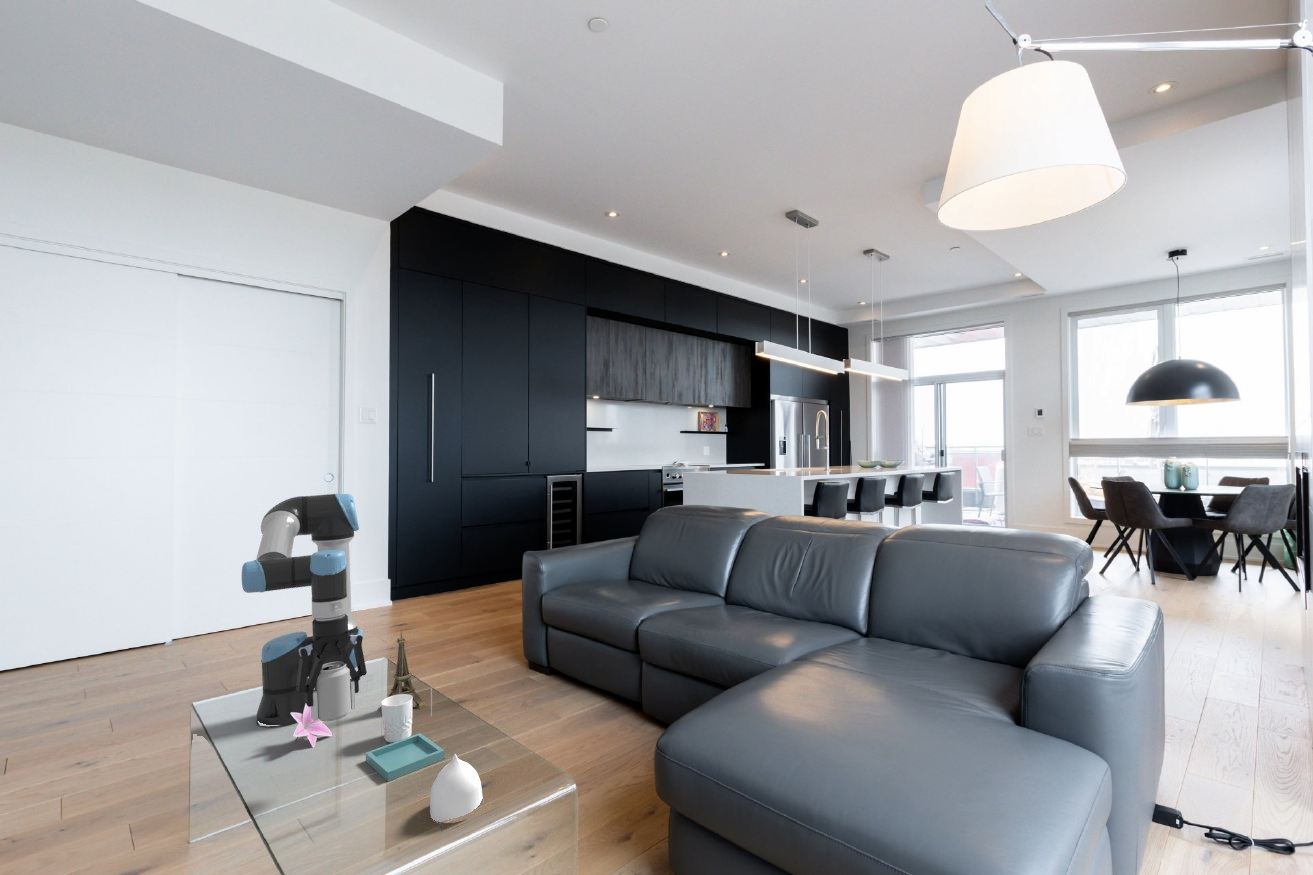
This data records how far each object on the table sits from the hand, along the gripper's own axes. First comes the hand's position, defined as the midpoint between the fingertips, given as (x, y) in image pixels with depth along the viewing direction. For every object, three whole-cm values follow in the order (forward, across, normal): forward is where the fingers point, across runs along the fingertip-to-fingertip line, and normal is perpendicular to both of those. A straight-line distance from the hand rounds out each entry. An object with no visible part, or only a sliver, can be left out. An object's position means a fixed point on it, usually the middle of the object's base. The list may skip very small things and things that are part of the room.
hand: (333, 713), depth 148 cm
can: (+1, 0, 0) cm, 1 cm away
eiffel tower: (+16, +28, +29) cm, 44 cm away
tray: (+16, +15, -3) cm, 22 cm away
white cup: (+16, +19, +11) cm, 28 cm away
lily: (+16, +2, +27) cm, 32 cm away
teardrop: (+16, +14, -32) cm, 39 cm away
